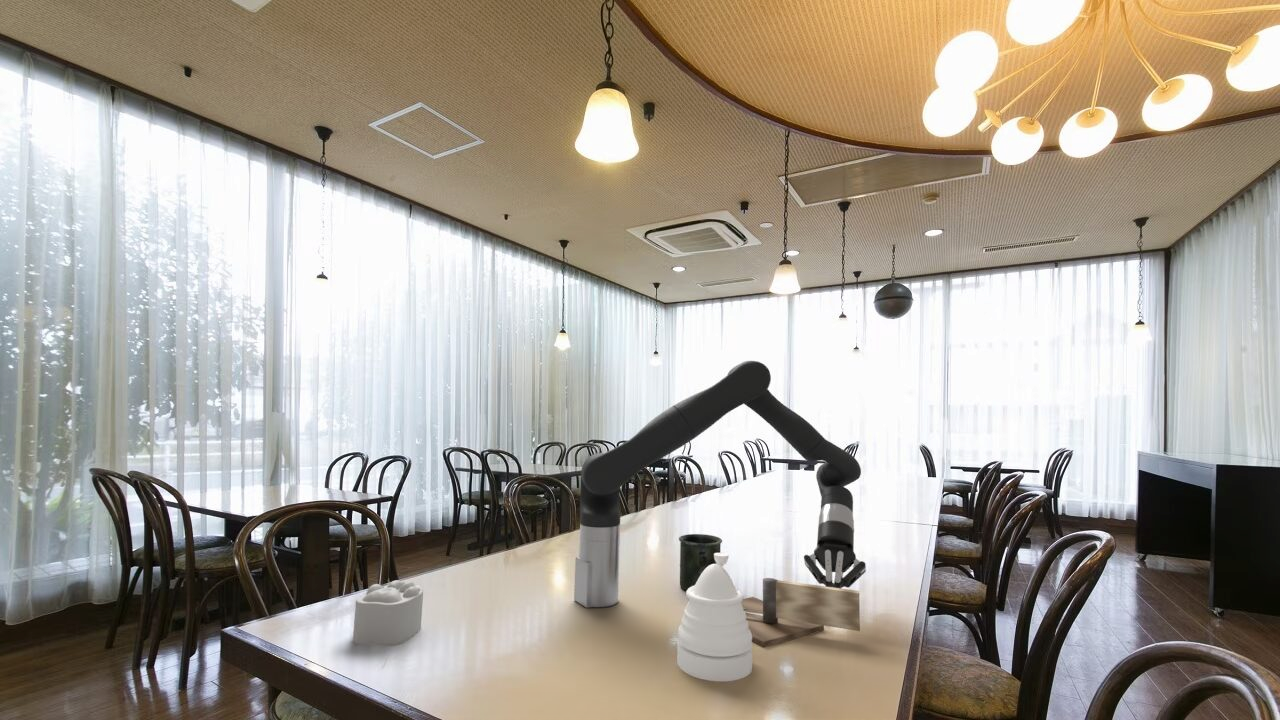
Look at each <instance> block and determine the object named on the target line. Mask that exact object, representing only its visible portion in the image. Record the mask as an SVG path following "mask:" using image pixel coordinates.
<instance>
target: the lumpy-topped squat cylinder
mask: <svg viewBox="0 0 1280 720" xmlns="http://www.w3.org/2000/svg"><path fill="white" fill-rule="evenodd" d="M423 597H424V589H423V587H422V586H421V585H419V584H416V583H415V582H414V581H412V580H408V581H405V582H402V581H401V580H397V579H396V580H392V581H391V582H390V583H389V584H388V585H381V584H379V583H374V584H372V585H371V586H369V587H368V589H367V591H366V593H364V594H362V595H360V596H359V597H358V598H356V599H355V606H354V607H355V608H354V609H355V610H354V621H353V632H352V634H353V636H352V642H353V643H354V644H356V645H362V646H363V645H365V646H366V645H367V646H368V645H372V646H373V645H374V646H378V647H391V646H396V645H399V644H403V643H404V642H406V641H408V640H410V639H411V638H413V637H414V636H416V634H418V633H419V632H420V631H421V629H422V617H423V616H422V615H423V600H424V598H423Z"/></svg>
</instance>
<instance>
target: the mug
mask: <svg viewBox="0 0 1280 720" xmlns="http://www.w3.org/2000/svg"><path fill="white" fill-rule="evenodd" d="M678 541H679V543H680V545H679V546H680V548H679V552H680V553H679V556H680V557H679V562H680V563H679V587H680V588H681V589H682V590H684V591H685V592H686V591H687V590H688V588H690V587H692V586H694V585H695V584H696V582H697V580H698V578H699V577H700V575H701V574H702V572H703V571H704V570H705V569H706V568H707V567H708V566H709V565H711V564H717V563H716V561H715V559H714V553H721V546H722V545H721V544H723V539H722V538H720V537H718V536H716V535H710V534H705V533H704V534H702V533H701V534H700V533H690V534H684V535H683V534H682V535H681V536H679V537H678Z"/></svg>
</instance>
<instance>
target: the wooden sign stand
mask: <svg viewBox="0 0 1280 720" xmlns="http://www.w3.org/2000/svg"><path fill="white" fill-rule="evenodd" d="M741 604H742V607H743V611H745V612H752V613H758V614H763V599H760V598H757V597H755V596H751V597H746V598H745V597H744V598H743V601H742V602H741ZM746 620H747V622H748V625H749V626H748V628H749V630H750V632H751V634H752V643H754V644H756V645H758V646H761V647H762V648H767V647H770V646H775V645H777V644H780V643H784V642H788V641H791V640H795V639H798V638H802V637H804V636H809V635H811V634H815V633H819V632H822V630H823V631H825V626H824V625H817V624H811V623H805V622H799V621H792V620H786V619H780V618H778V622H777V623H766V622H764V621H763V618H757V617H750V616H746Z"/></svg>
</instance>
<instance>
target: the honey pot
mask: <svg viewBox="0 0 1280 720" xmlns="http://www.w3.org/2000/svg"><path fill="white" fill-rule="evenodd" d="M714 559H715V561H716V563H717V564H711V565H709V566H708V567H707V568H706V569H705V570H704V571H703V572H702V574H701V575H700V577H699V578H698V580H697V582H696V584H695V585H694V586H692V587H690V588H688V590H687V591H685V593H686V597H687V598H688V602H687V605H686V607H685V608H684V610H683V616H682V618H681V622H680V625H679V626H678V628H677V645H676V646H677V650H676V651H677V652H676V654H677V655H676V657H677V658H676V660H677V661H676V662H677V667H678V668H679V669H680V670H681V671H683V672H684V673H685V674H687V675H689V676H691V677H694V678H697V679H701V680H703V681H710V682H732V681H737V680H742V679H743V678H745V677H748V676H749V674H751V673H752V671H753V642H752V634H751V632H750V630H749V628H748V626H749V625H748V622H747V620H746V614H745V612H744V611H743V607H742V604H741V602H742V601H743V599H745V597H744V594H743V592H742V591H741V590H739V589H738V588H736V586H735V584H734V582H733V580H732V578H731V576H730V575H729V573H728V572H727V570H726V568H724V567H723V566H725V565H726V564H727V563H728V560H729V554H728V553H726V552H720V553H714Z"/></svg>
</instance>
